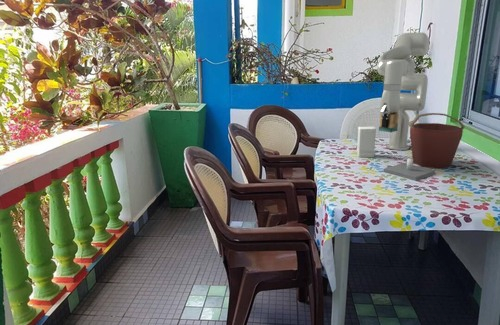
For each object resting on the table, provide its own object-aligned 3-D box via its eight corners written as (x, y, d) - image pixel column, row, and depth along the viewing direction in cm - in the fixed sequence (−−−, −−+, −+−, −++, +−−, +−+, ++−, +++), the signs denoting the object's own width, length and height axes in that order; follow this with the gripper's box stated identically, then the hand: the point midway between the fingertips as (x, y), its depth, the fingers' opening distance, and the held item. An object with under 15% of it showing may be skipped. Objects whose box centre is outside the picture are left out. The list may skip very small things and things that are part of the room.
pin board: (402, 165, 186) (404, 152, 184) (434, 173, 173) (436, 159, 172) (383, 171, 177) (384, 158, 175) (415, 180, 164) (417, 166, 163)
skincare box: (371, 154, 207) (374, 126, 203) (374, 157, 201) (376, 128, 196) (356, 154, 208) (358, 126, 204) (358, 157, 201) (360, 128, 197)
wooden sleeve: (385, 128, 185) (386, 112, 183) (397, 130, 181) (399, 113, 179) (378, 130, 181) (380, 113, 179) (390, 132, 177) (392, 115, 175)
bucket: (402, 165, 186) (407, 114, 179) (407, 155, 205) (412, 109, 198) (458, 172, 175) (466, 118, 168) (458, 161, 194) (466, 112, 187)
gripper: (393, 86, 184) (390, 123, 189) (375, 88, 173) (371, 127, 178) (408, 87, 179) (404, 125, 183) (390, 89, 167) (386, 130, 172)
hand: (388, 126), depth 180 cm, fingers closed on wooden sleeve, 6 cm apart
